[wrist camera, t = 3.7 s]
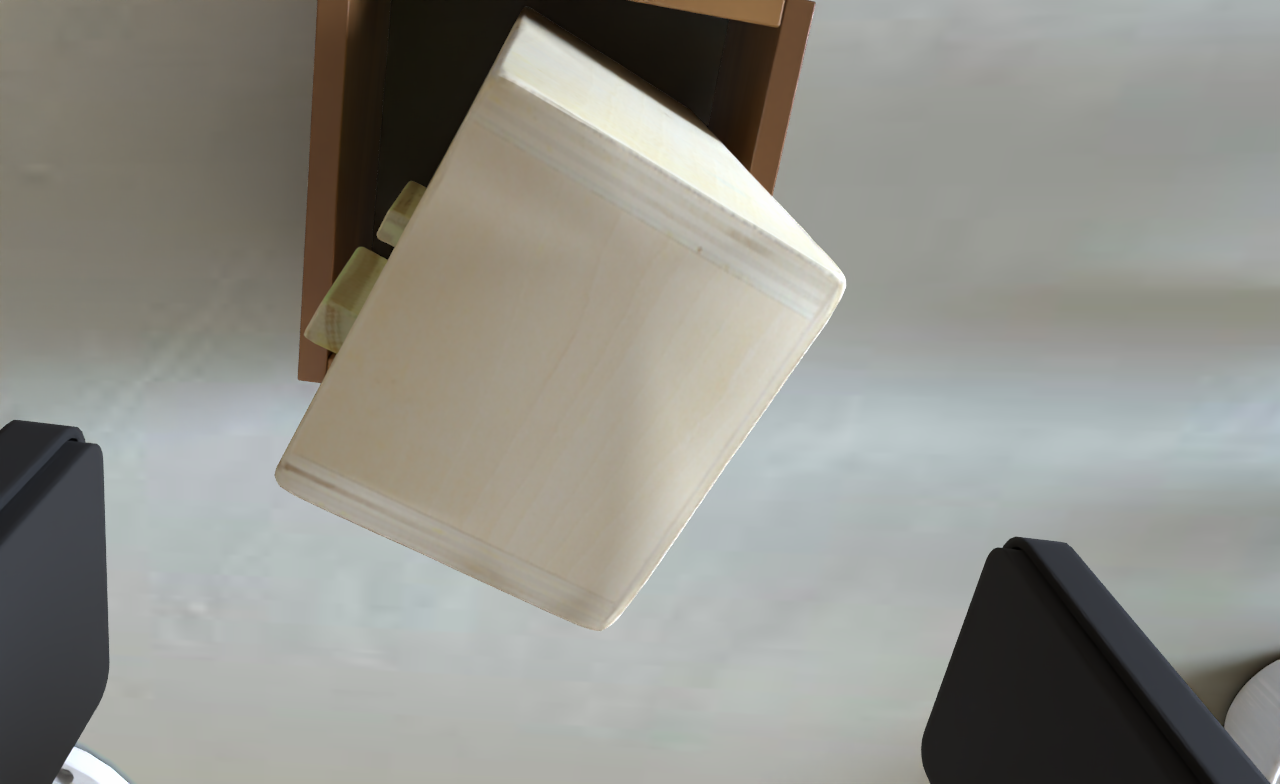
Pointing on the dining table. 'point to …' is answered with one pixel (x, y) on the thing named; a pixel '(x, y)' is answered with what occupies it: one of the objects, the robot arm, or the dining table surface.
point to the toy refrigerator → (558, 335)
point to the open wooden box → (353, 105)
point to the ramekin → (1259, 721)
